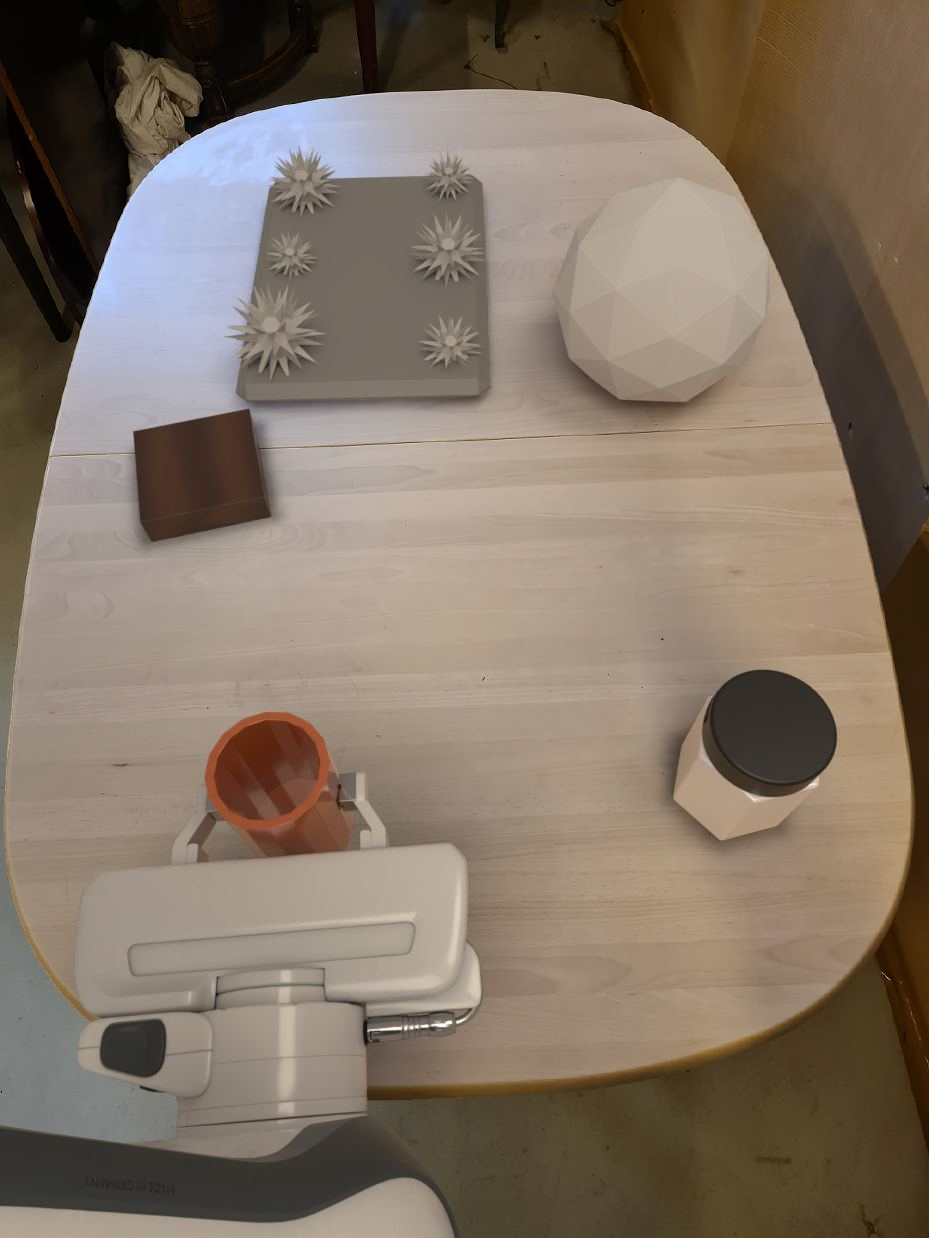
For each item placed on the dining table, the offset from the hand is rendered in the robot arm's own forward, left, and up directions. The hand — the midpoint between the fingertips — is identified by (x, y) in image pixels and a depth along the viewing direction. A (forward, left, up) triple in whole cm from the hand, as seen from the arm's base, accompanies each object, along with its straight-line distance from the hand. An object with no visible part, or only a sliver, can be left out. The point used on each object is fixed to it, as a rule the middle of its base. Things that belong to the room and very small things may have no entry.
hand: (284, 780), depth 49 cm
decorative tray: (+15, +60, -17) cm, 64 cm away
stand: (-5, +38, -17) cm, 42 cm away
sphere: (+40, +41, -17) cm, 59 cm away
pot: (0, -1, -5) cm, 6 cm away
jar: (+31, -2, -17) cm, 35 cm away
